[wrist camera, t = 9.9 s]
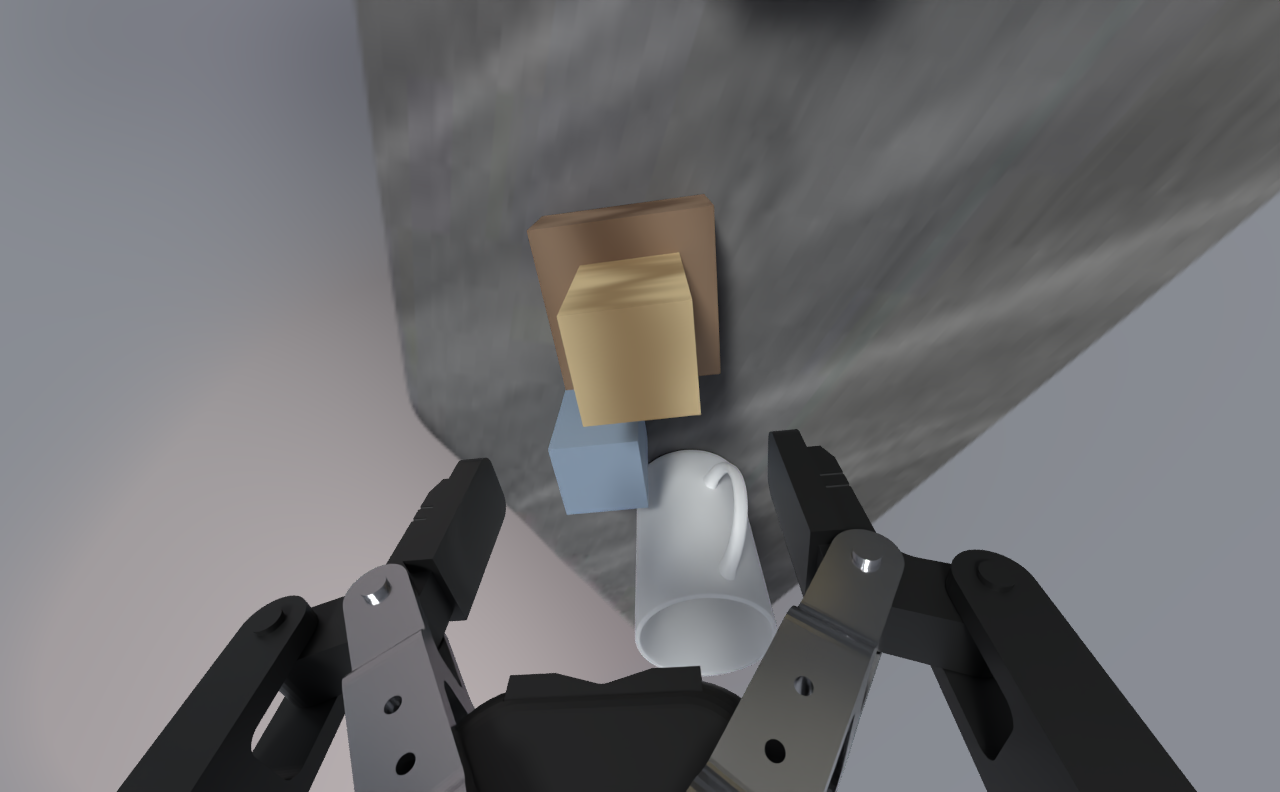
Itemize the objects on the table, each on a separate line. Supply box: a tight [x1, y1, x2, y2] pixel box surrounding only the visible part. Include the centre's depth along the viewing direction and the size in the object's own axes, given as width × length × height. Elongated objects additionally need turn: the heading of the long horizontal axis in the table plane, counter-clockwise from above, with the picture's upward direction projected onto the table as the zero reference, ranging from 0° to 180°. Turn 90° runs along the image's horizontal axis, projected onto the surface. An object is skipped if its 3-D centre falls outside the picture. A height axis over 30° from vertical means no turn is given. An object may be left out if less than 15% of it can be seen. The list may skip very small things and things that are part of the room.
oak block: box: [557, 252, 701, 427], centre depth 21 cm, size 5×5×7 cm
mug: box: [635, 450, 777, 676], centre depth 30 cm, size 12×8×12 cm
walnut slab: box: [527, 194, 721, 390], centre depth 25 cm, size 9×9×4 cm
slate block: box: [548, 390, 648, 515], centre depth 29 cm, size 5×5×7 cm
